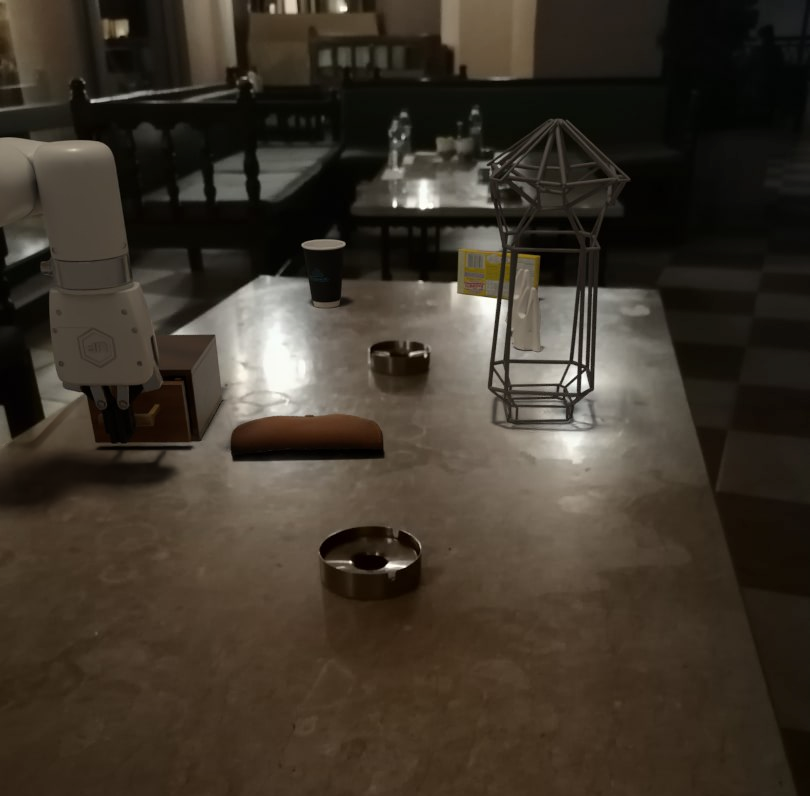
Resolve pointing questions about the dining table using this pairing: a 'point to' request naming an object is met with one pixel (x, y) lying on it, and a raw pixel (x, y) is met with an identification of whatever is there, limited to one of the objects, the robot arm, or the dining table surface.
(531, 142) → the geometric lantern
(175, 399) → the drawer
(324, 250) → the dixie cup
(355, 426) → the sunglasses case
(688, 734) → the dining table surface
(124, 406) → the robot arm
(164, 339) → the cabinet
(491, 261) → the candy box
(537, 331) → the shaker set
